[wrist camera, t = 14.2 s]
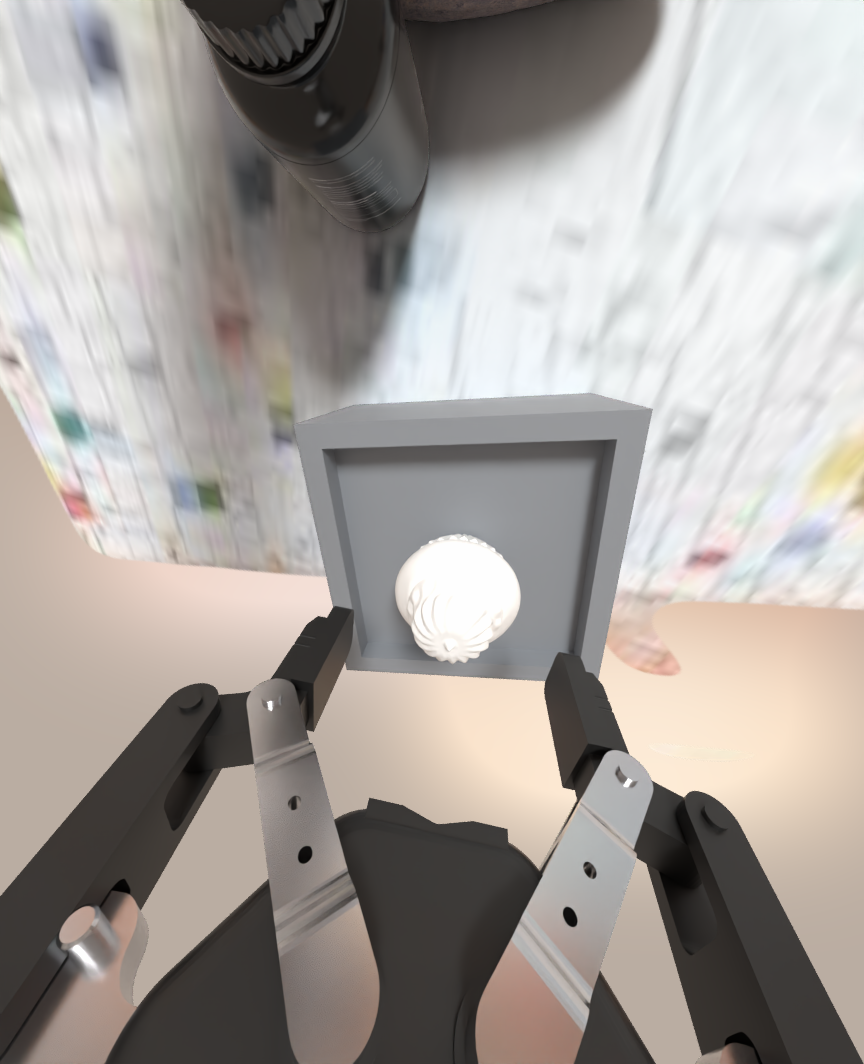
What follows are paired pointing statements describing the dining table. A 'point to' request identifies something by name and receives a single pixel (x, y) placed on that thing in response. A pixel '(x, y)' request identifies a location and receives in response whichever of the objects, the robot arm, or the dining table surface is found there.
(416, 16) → the perforated stone tool
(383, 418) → the grey square open box
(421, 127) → the supplement bottle
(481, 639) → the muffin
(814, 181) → the dining table surface
